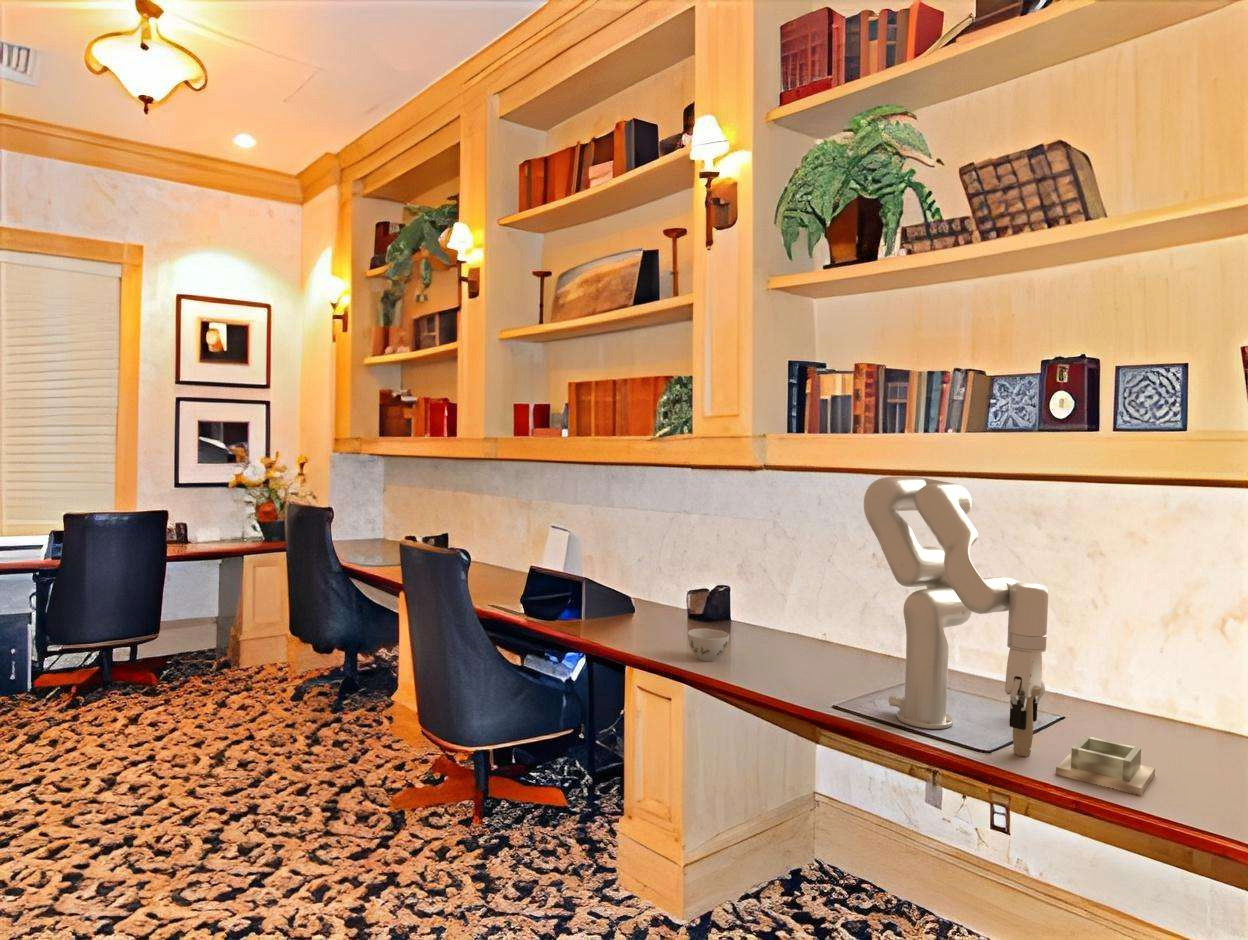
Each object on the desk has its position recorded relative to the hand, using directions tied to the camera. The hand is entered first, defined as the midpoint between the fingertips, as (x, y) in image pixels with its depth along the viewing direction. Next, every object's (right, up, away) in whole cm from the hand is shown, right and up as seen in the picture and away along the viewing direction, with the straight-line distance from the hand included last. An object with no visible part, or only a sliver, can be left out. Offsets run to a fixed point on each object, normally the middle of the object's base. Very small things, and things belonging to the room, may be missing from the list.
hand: (1023, 723), depth 185 cm
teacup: (-59, -3, +75) cm, 96 cm away
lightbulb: (+13, -6, +25) cm, 29 cm away
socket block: (+12, -7, -10) cm, 17 cm away
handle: (0, -7, 0) cm, 7 cm away
